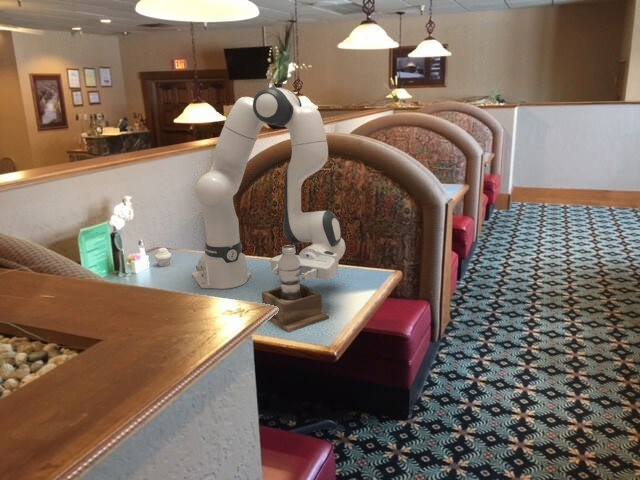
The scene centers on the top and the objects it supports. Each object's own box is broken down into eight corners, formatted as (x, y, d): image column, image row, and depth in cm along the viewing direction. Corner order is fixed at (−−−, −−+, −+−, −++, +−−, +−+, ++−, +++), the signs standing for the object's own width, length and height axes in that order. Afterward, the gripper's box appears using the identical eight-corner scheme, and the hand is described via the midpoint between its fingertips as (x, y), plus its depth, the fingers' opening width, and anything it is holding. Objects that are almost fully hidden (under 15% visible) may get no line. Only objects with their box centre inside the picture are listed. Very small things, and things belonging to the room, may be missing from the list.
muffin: (172, 261, 210) (170, 244, 208) (172, 266, 205) (170, 249, 203) (155, 263, 209) (153, 246, 207) (155, 268, 203) (153, 250, 201)
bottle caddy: (256, 312, 162) (255, 290, 160) (295, 300, 170) (295, 279, 168) (288, 332, 149) (287, 308, 147) (328, 318, 156) (328, 295, 154)
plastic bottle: (301, 316, 156) (299, 250, 150) (278, 316, 156) (274, 250, 151) (304, 307, 162) (302, 243, 156) (281, 307, 162) (278, 243, 157)
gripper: (283, 246, 170) (258, 259, 159) (342, 254, 161) (320, 268, 149) (284, 265, 172) (259, 279, 161) (342, 274, 163) (320, 290, 151)
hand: (289, 274), depth 155 cm, fingers open, 8 cm apart
